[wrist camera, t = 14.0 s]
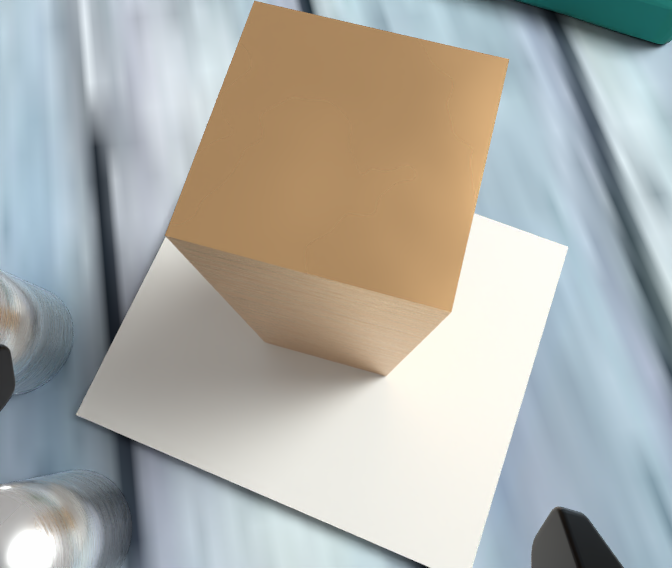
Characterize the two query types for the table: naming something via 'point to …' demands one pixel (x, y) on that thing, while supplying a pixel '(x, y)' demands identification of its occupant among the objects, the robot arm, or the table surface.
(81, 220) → the table surface
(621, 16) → the digital multimeter
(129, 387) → the white mat
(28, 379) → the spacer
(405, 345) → the tan tall block
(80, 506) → the cylinder
